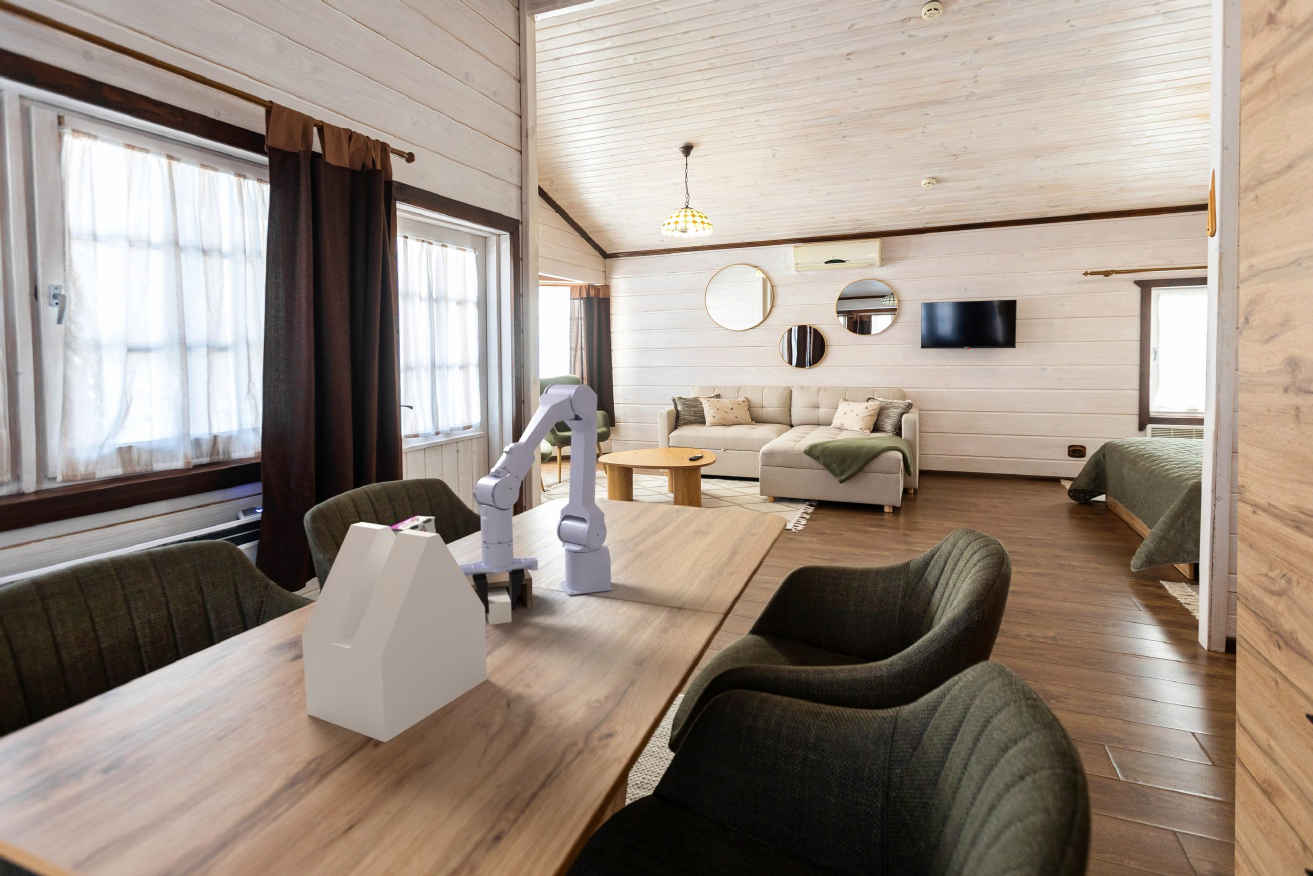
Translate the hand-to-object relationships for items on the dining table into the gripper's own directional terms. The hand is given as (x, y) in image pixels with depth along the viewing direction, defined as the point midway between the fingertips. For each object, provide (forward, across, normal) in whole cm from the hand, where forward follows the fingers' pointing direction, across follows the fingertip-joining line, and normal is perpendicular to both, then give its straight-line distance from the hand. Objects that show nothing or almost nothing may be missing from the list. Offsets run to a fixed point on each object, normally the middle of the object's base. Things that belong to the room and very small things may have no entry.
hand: (499, 610), depth 125 cm
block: (+2, 0, +3) cm, 4 cm away
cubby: (+2, 0, +9) cm, 9 cm away
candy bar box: (+2, -15, +17) cm, 23 cm away
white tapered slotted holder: (+2, -17, -24) cm, 30 cm away
